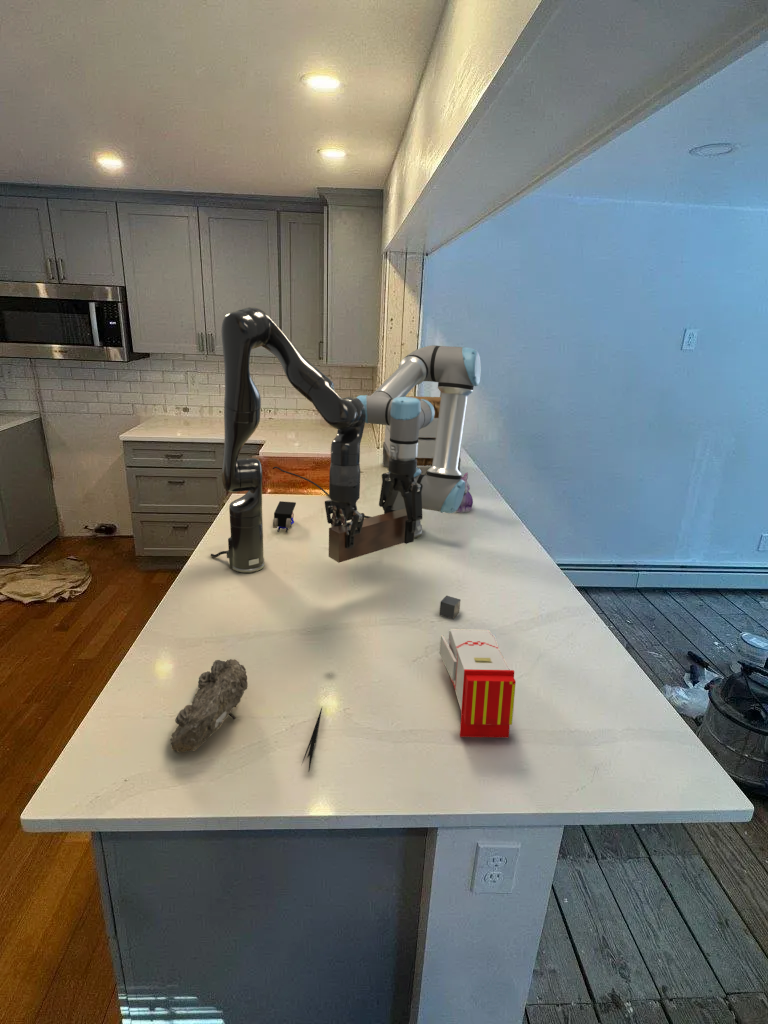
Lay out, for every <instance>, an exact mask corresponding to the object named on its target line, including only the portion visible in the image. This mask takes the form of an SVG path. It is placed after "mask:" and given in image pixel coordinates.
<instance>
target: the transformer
mask: <svg viewBox="0 0 768 1024" xmlns="http://www.w3.org/2000/svg"><path fill="white" fill-rule="evenodd" d="M439 392H440V391H439ZM405 397H412V398H417V399H420V400H421V399H424V400H427V401H429V402H430V403H431V404H432V405H433V407H434V410H435V416H434V419H433V420H432V422H431V423H430V424H429V425H428V426H426V427H424V428H421V429H419V437H418V456H417V457H416V459H417V467H426V466H427V467H431V466H432V464H433V456H434V448H435V440H436V433H437V425H438V417H439V409H440V402H441V392H440V394H439V396H416V395H414V396H413V395H410V396H409V395H406V396H405ZM384 426H385V427H384V440H383V441H382V442H383V443H382V463H381V464H382V465H383V467H386V468H388V463H389V458H390V457H391V456H390V455H389V446H390V426H389V425H384ZM462 443H463V442H462V441H461V444H462ZM461 452H462V447H461V448H460V455H459V462H458V470H459V471H460V470H461V462H462V458H461ZM460 472H461V471H460Z"/></svg>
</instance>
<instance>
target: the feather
mask: <svg viewBox="0 0 768 1024" xmlns="http://www.w3.org/2000/svg"><path fill="white" fill-rule="evenodd" d="M329 675H330V676H331V675H332V674H331V673H330V674H329ZM322 710H323V707H321V708H320V710H319V713H318V716H317V719H316V723H315V725H314V728H313V731H312V733H311V737H310V739H309V742H308V745H307V748H306V751H305V754H304V757H303V760H302V763H301V767H302V765H303V763H304V761H305V758H308V759H309V760H308V762H307V763H308V764H307V766H308V771H310V770H311V766H312V765H311V764H312V760H313V757H315V756H314V755H315V751H316V749H315V746H317V739H318V733H319V729H320V722H321V717H322V712H323V711H322ZM313 754H314V755H313ZM306 755H307V757H306Z"/></svg>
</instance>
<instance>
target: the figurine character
mask: <svg viewBox="0 0 768 1024" xmlns="http://www.w3.org/2000/svg"><path fill="white" fill-rule="evenodd" d="M296 505H297V502H296V501H295V502H294V501H283V500H282V501H279V502H278V504H277V506H276V508H275V510H274V513H273V519H272V528H273V529H277V530H276V532H277V533H280V531H281V530H285V532H284V533H288V531H289V529H291V528H292V525H293V524H294V523H295V519H294V517H295V514H294V510H295V507H296Z"/></svg>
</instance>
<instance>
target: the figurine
mask: <svg viewBox="0 0 768 1024" xmlns="http://www.w3.org/2000/svg"><path fill="white" fill-rule="evenodd" d="M468 479H469V473H468V472H465V473H464V474H463V476H462V475H461V480H463V481H465V491H464V495H463V499H462V501H461V504H460V506H459V508H458V509H457V511H455V512H454V513H462V514H463V513H468V512H470V511H471V510H472V509H473V505H474V499H473V496H472V494H471V492H470V489H471V487H470V484H469V482H468Z"/></svg>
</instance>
